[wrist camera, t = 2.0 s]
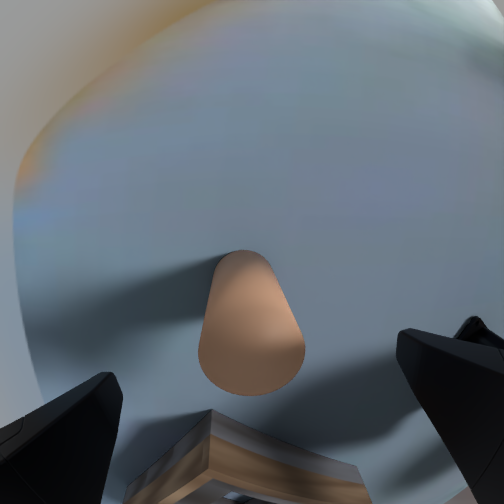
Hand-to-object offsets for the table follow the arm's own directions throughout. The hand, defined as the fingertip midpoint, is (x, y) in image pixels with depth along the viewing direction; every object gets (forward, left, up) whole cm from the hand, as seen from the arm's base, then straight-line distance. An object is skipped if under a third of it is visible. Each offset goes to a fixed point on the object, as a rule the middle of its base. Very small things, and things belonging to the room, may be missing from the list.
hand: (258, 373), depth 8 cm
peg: (0, 0, -9) cm, 9 cm away
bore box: (+17, +12, -9) cm, 23 cm away
